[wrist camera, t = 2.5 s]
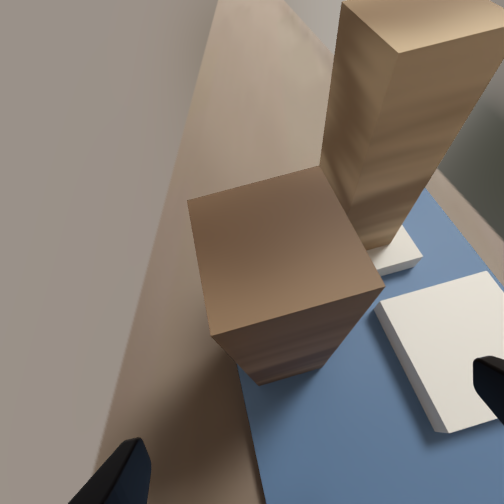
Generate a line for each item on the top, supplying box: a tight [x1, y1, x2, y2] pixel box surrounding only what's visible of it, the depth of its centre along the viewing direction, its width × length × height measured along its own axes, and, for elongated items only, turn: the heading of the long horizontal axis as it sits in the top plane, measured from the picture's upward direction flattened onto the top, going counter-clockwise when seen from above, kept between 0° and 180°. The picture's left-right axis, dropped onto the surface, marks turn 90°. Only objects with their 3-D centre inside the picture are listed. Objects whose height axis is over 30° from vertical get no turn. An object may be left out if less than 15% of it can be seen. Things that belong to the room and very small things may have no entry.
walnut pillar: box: [187, 166, 386, 386], centre depth 13 cm, size 4×4×12 cm
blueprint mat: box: [237, 188, 504, 504], centre depth 17 cm, size 24×18×2 cm
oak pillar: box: [319, 0, 504, 250], centre depth 15 cm, size 4×4×12 cm
